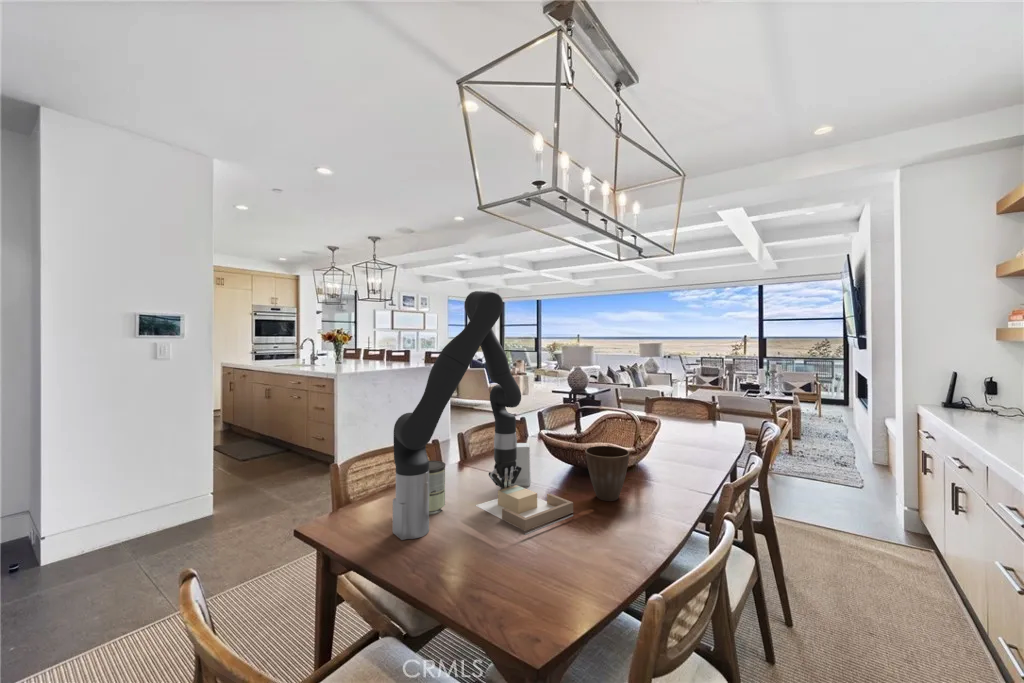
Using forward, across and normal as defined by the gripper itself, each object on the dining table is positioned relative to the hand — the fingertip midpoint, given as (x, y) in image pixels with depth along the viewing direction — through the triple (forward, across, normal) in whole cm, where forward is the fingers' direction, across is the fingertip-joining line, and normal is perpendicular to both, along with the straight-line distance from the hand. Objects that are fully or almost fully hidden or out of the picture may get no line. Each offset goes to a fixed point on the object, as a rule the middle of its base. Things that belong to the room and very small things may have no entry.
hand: (505, 497), depth 138 cm
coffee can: (+2, -21, +13) cm, 25 cm away
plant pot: (+2, +31, -18) cm, 36 cm away
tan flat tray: (+2, 0, -9) cm, 9 cm away
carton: (+1, 0, -6) cm, 6 cm away
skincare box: (+2, +15, +10) cm, 18 cm away
